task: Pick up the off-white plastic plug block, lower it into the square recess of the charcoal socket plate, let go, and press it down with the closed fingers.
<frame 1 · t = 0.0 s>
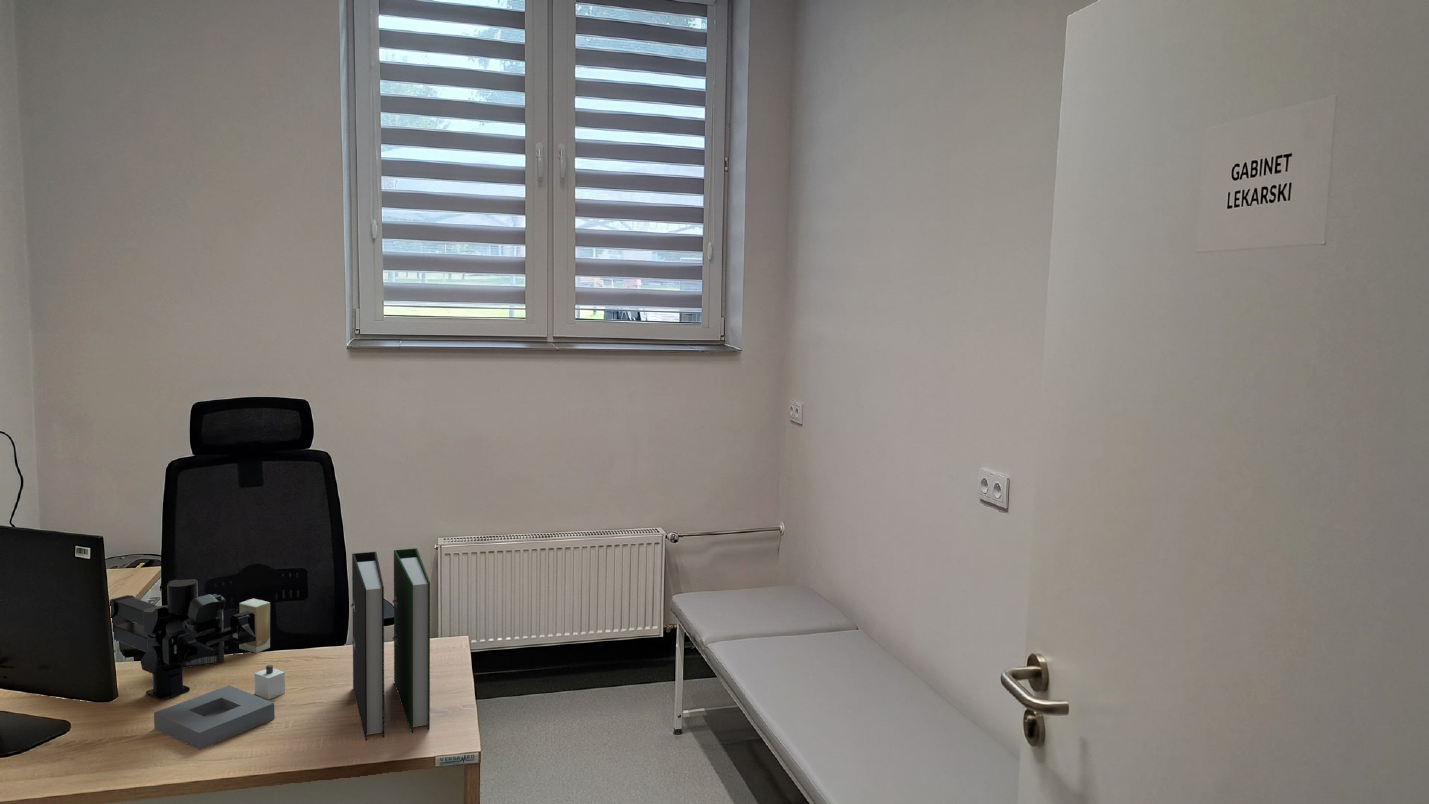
hand: (234, 645, 184), 17 cm above the table, tool horizontal, fingers open, 9 cm apart
socket: (215, 723, 184), on the table
plug: (270, 693, 199), on the table
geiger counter: (203, 662, 215), on the table
books: (389, 708, 194), on the table
skincare box: (255, 649, 225), on the table
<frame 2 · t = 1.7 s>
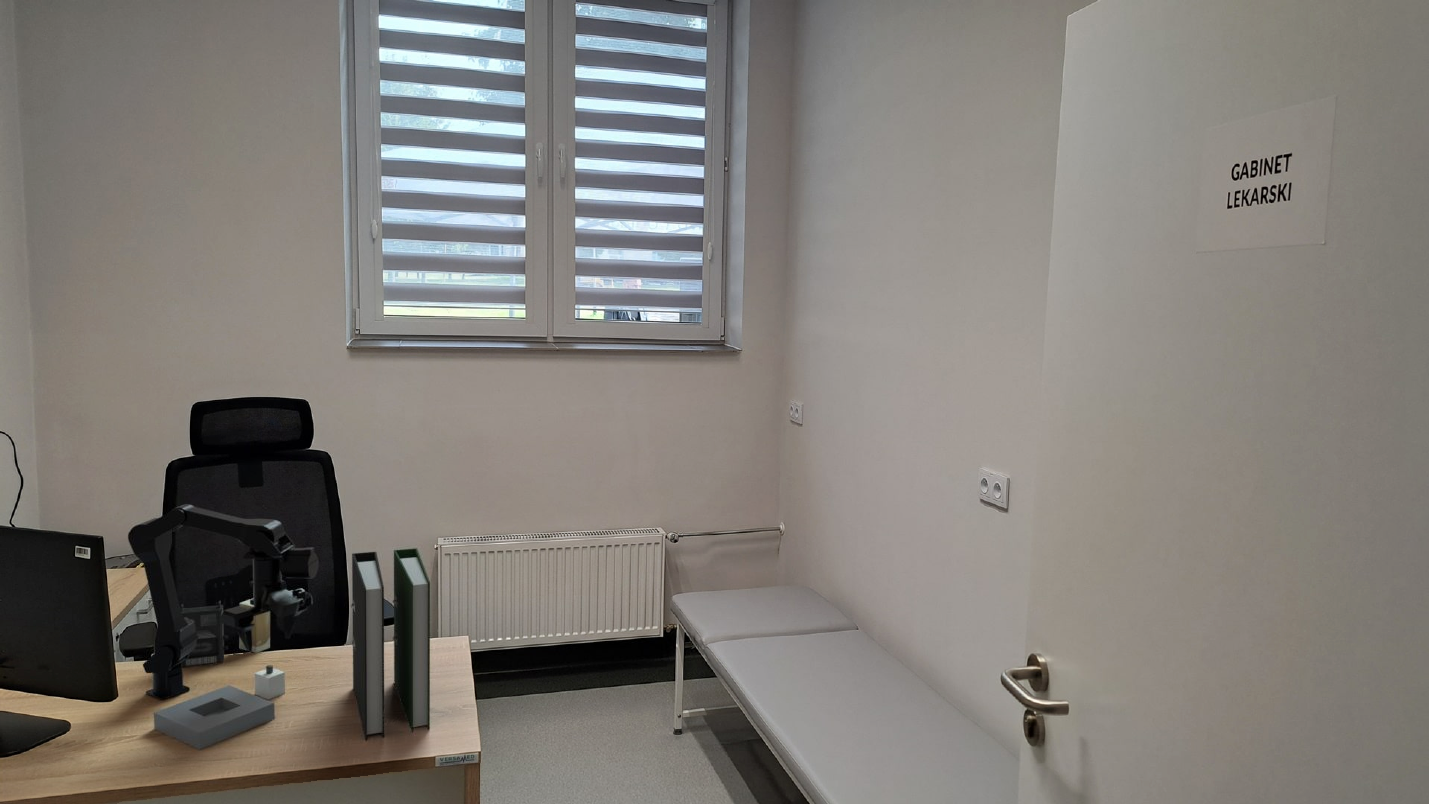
hand: (268, 644, 198), 11 cm above the table, tool pointing down, fingers open, 9 cm apart
nothing on the table moved.
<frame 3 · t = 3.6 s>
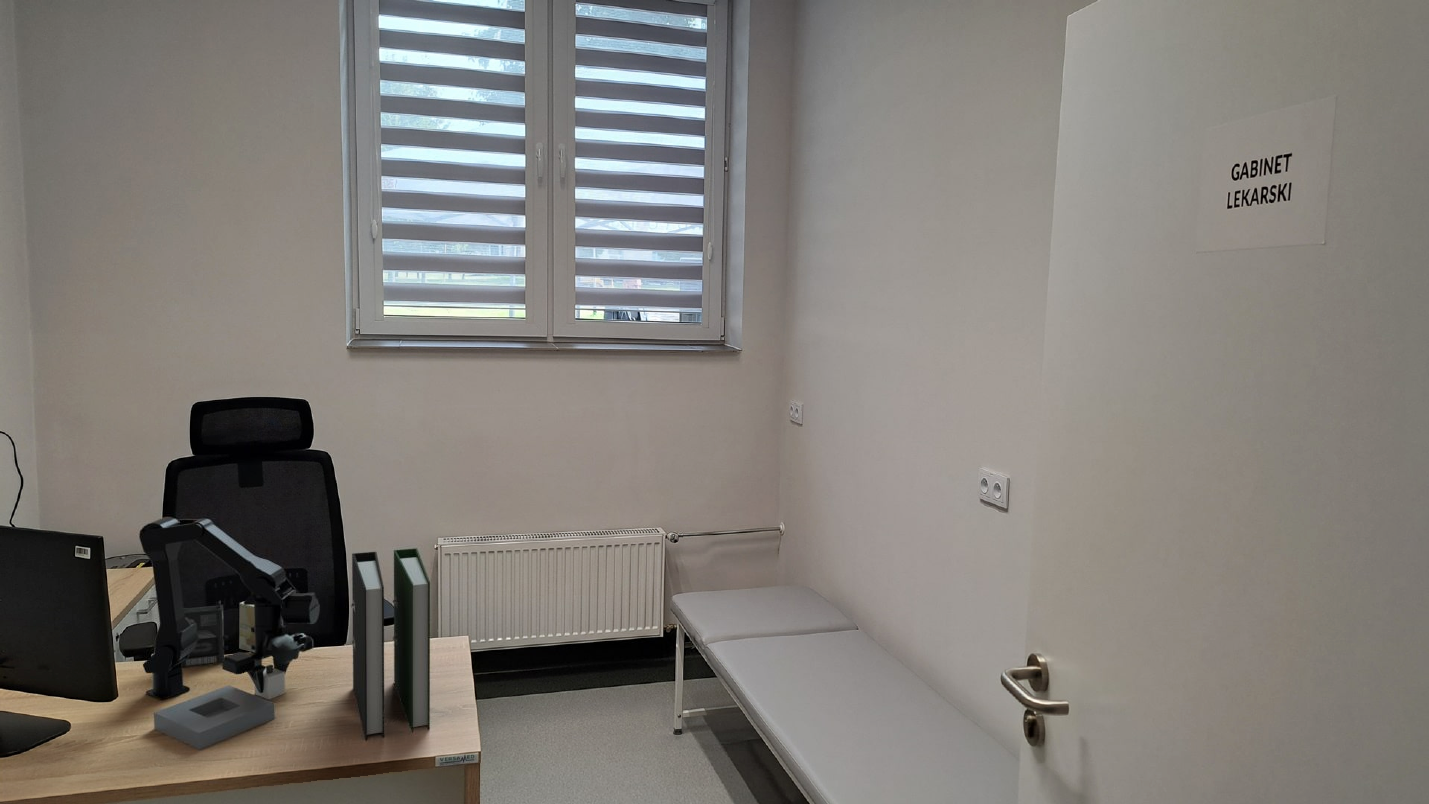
hand: (269, 689, 199), 1 cm above the table, tool pointing down, fingers closed on plug, 4 cm apart
plug: (269, 693, 199), on the table, touching gripper
everything else where it was.
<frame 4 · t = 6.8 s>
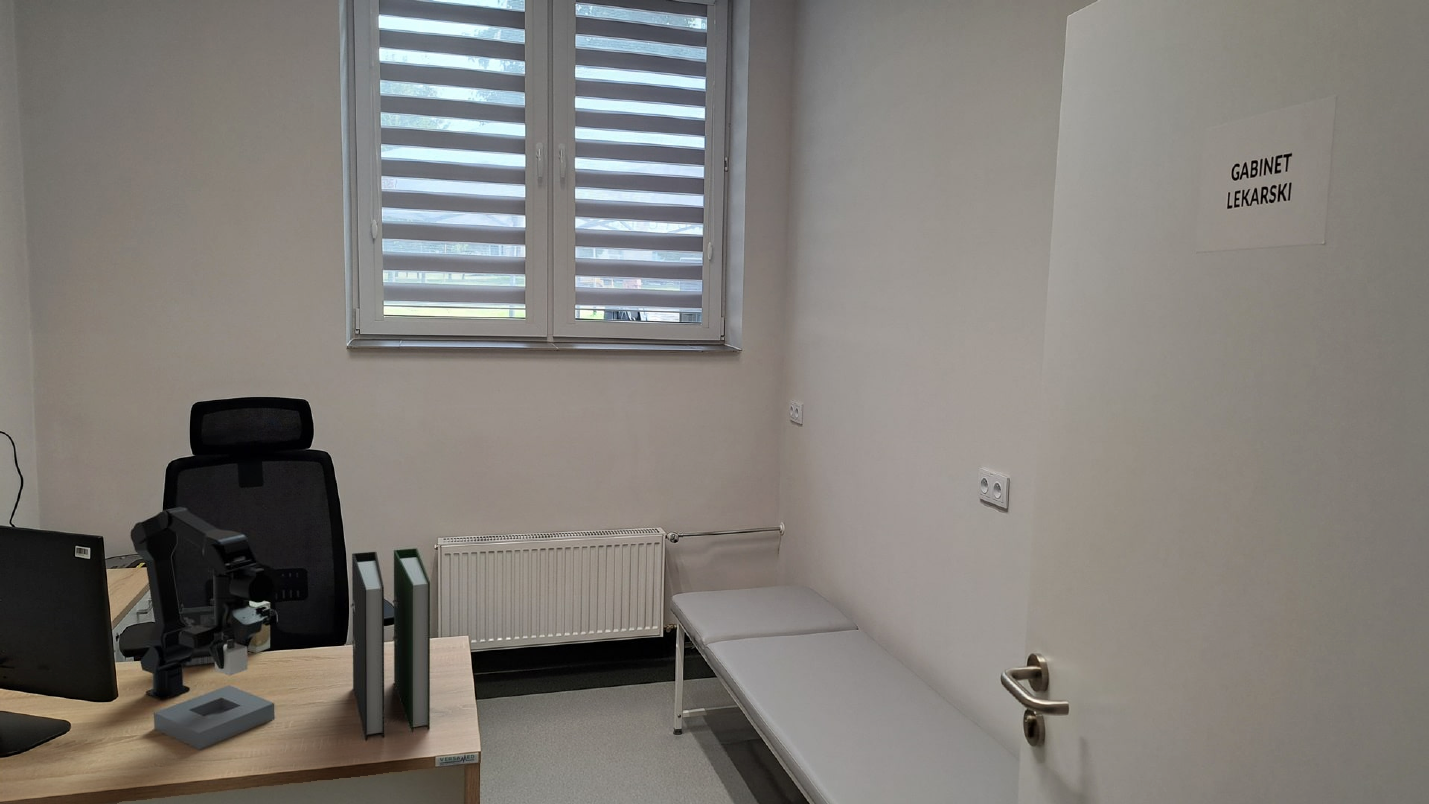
hand: (230, 665, 187), 11 cm above the table, tool pointing down, fingers closed on plug, 4 cm apart
plug: (231, 669, 188), point 10 cm above the table, touching gripper
everything else where it was.
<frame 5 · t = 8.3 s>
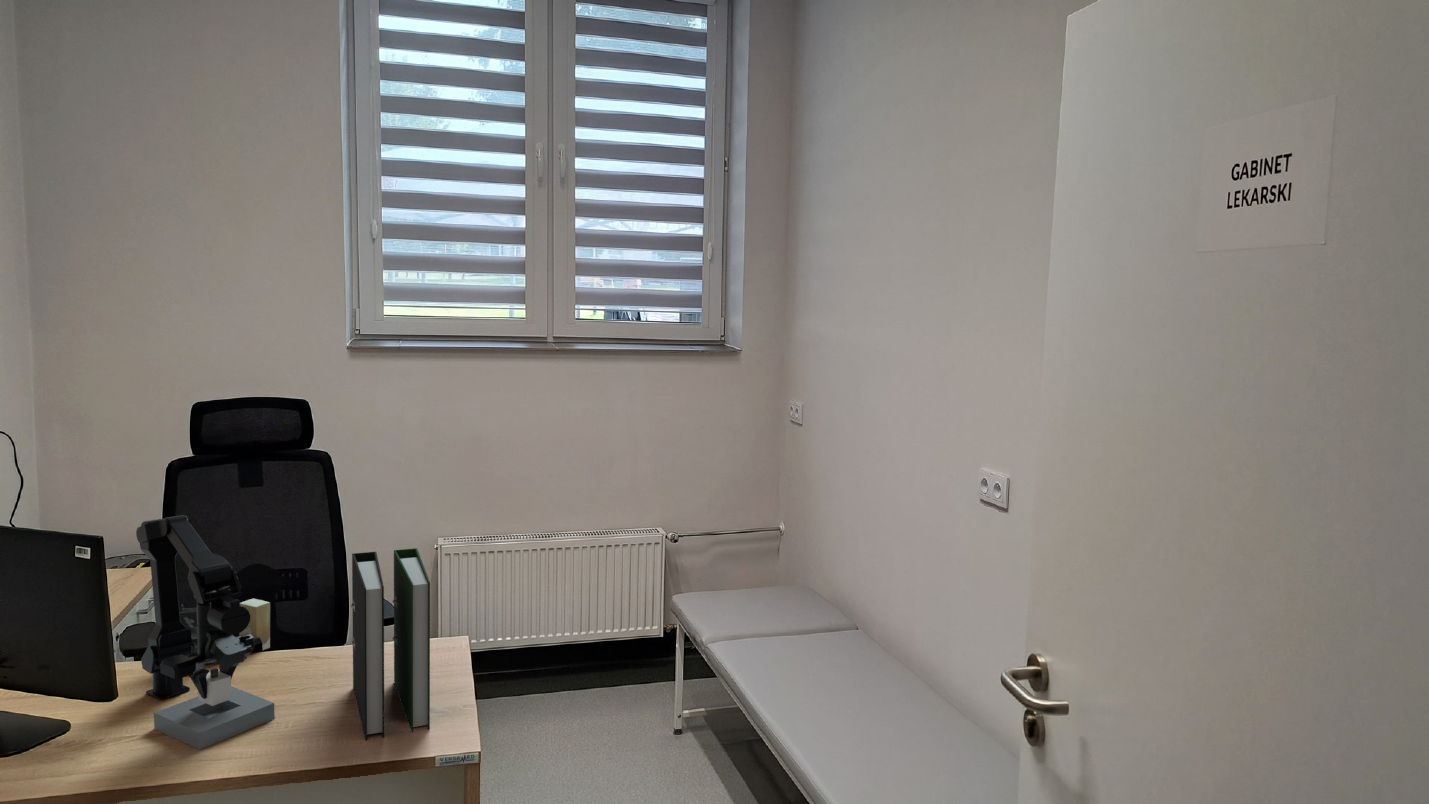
hand: (214, 694, 184), 6 cm above the table, tool pointing down, fingers closed on plug, 4 cm apart
plug: (214, 699, 184), point 5 cm above the table, touching gripper
everything else where it was.
when the fingers open (4 cm above the table, at t = 9.9 s): plug drops 2 cm, resting on socket.
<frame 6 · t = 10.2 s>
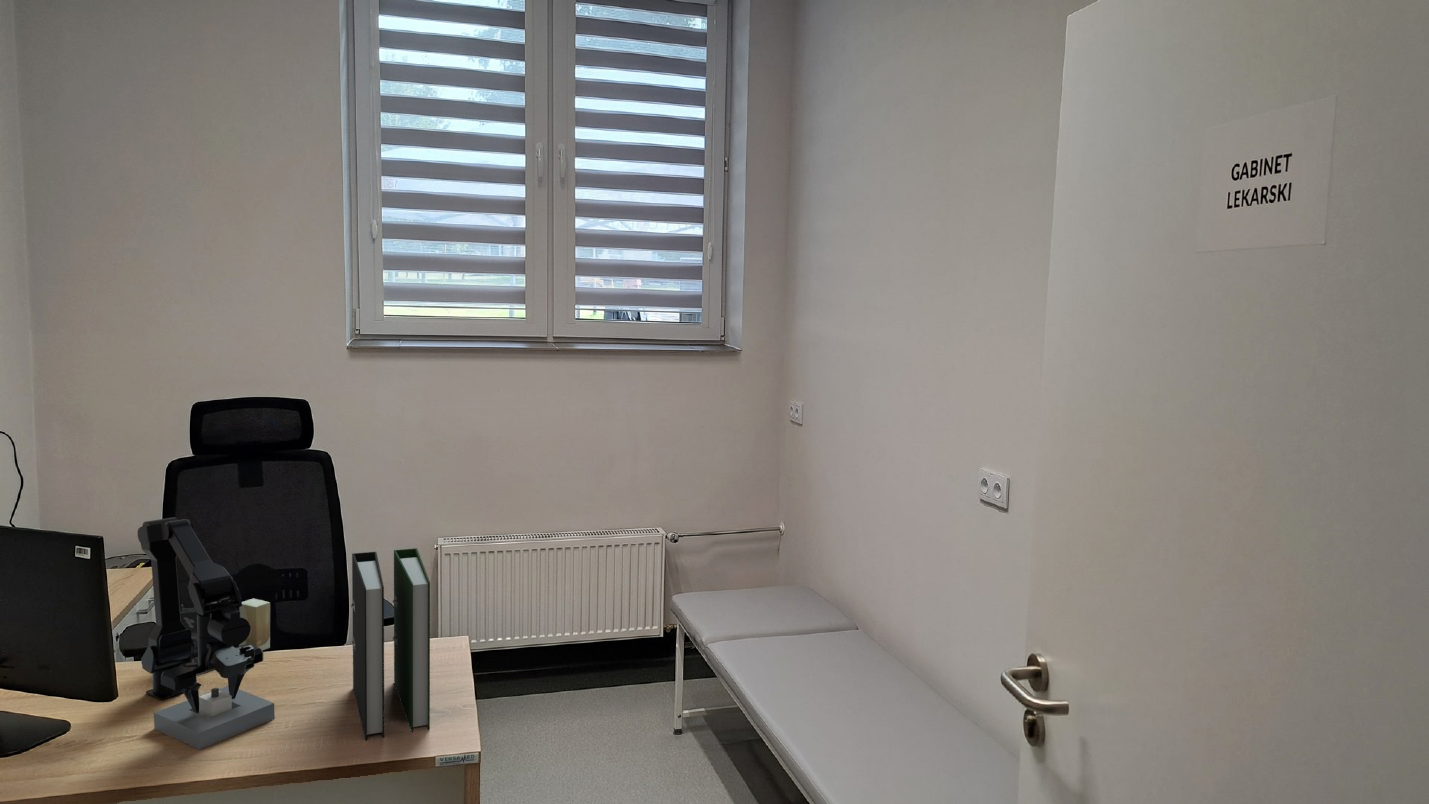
hand: (214, 705, 184), 4 cm above the table, tool pointing down, fingers open, 7 cm apart
plug: (215, 719, 184), point 1 cm above the table, touching socket
everything else where it was.
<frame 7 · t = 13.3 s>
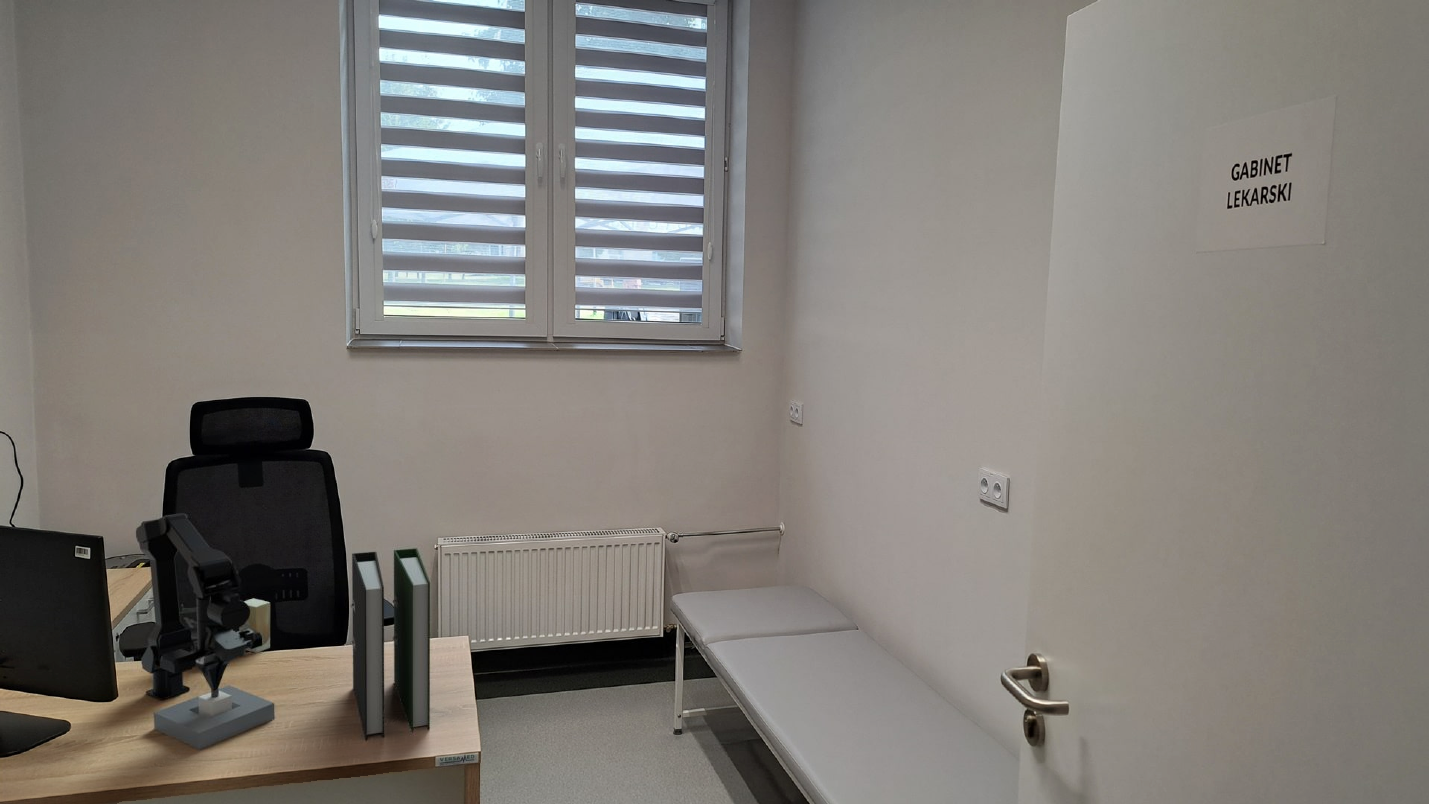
hand: (214, 689, 184), 7 cm above the table, tool pointing down, fingers closed, pressing on plug
plug: (215, 719, 184), point 1 cm above the table, touching gripper, socket
everything else where it was.
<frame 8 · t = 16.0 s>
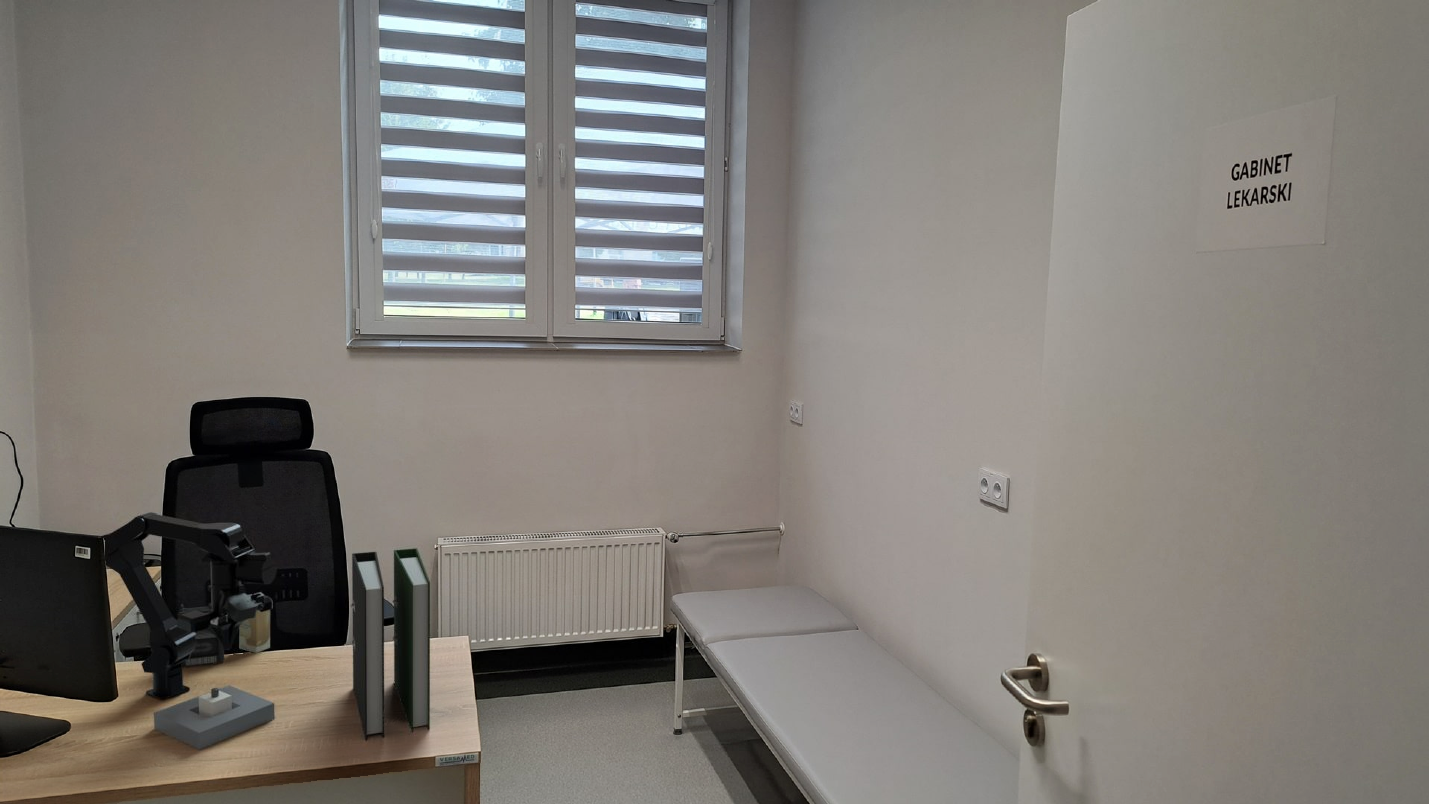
hand: (227, 649, 196), 11 cm above the table, tool pointing down, fingers closed
plug: (215, 719, 184), point 1 cm above the table, touching socket
everything else where it was.
at the end: plug 0.1 cm off-centre on the socket, point 1.0 cm above the socket's base; plug tilted 0°; the gripper is holding nothing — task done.
